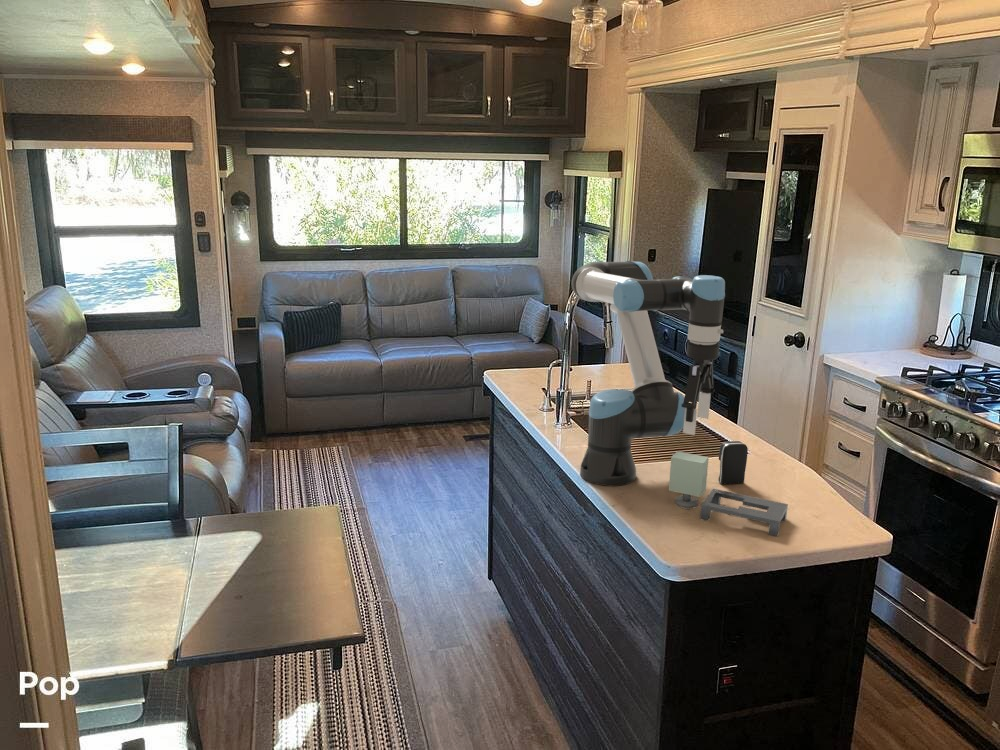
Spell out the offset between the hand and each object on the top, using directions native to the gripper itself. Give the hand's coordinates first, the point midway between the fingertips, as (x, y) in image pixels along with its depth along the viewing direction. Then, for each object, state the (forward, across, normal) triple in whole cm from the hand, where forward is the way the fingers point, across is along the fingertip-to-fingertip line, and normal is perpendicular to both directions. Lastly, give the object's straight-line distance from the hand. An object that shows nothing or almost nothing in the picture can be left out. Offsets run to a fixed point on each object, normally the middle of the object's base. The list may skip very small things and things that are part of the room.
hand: (696, 425), depth 193 cm
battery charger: (+21, +19, -6) cm, 29 cm away
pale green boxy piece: (+21, -1, 0) cm, 21 cm away
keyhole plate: (+20, -3, -14) cm, 25 cm away
